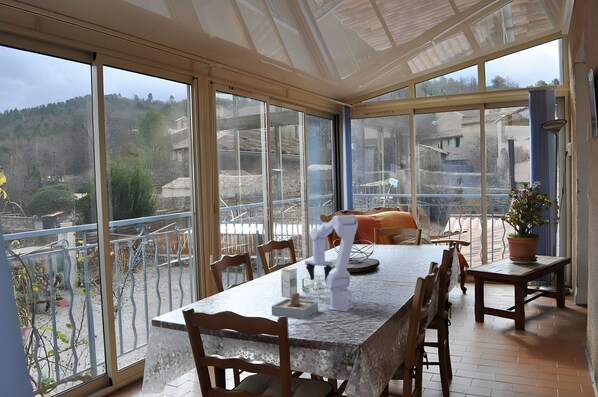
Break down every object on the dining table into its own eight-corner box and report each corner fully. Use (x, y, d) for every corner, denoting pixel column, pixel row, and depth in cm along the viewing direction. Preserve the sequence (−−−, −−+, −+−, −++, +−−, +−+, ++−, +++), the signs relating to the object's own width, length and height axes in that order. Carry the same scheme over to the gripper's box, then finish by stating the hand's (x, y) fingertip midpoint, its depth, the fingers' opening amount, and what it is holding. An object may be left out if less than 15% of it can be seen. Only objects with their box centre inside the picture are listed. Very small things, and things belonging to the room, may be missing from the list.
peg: (300, 310, 224) (300, 292, 224) (298, 312, 220) (298, 294, 220) (292, 310, 225) (291, 292, 225) (289, 312, 221) (289, 294, 221)
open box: (318, 310, 225) (317, 301, 225) (304, 319, 213) (304, 309, 213) (287, 307, 232) (286, 298, 232) (271, 314, 220) (271, 305, 220)
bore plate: (311, 309, 225) (311, 303, 225) (300, 316, 215) (300, 309, 215) (290, 307, 230) (290, 301, 230) (278, 313, 220) (278, 307, 220)
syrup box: (288, 294, 258) (288, 266, 257) (297, 295, 254) (296, 267, 253) (281, 296, 253) (280, 268, 252) (290, 298, 249) (289, 269, 249)
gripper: (335, 252, 242) (336, 279, 243) (309, 250, 249) (309, 277, 250) (330, 254, 236) (330, 282, 237) (302, 252, 243) (303, 280, 244)
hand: (319, 280), depth 243 cm, fingers open, 7 cm apart
